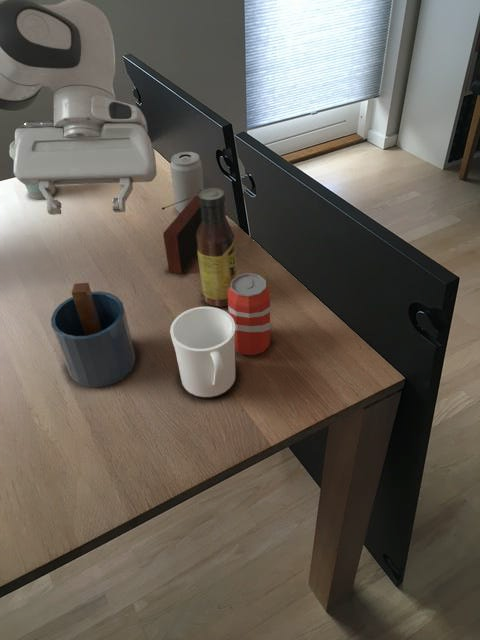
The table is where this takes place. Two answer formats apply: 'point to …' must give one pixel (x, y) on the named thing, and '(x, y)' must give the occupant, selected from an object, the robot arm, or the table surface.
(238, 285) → the beverage can
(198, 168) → the beverage can
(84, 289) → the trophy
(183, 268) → the radio
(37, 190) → the coffee cup
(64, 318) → the blue bin
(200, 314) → the mug
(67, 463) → the table surface
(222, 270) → the sauce bottle
